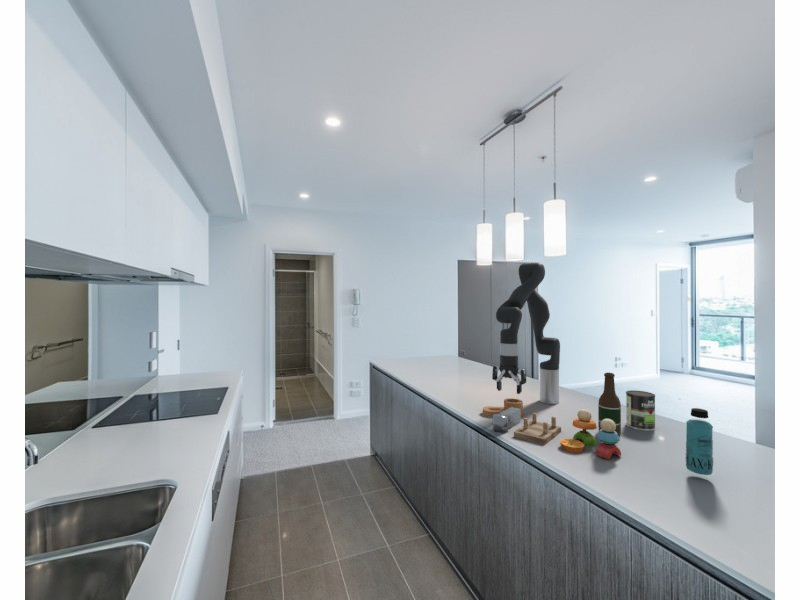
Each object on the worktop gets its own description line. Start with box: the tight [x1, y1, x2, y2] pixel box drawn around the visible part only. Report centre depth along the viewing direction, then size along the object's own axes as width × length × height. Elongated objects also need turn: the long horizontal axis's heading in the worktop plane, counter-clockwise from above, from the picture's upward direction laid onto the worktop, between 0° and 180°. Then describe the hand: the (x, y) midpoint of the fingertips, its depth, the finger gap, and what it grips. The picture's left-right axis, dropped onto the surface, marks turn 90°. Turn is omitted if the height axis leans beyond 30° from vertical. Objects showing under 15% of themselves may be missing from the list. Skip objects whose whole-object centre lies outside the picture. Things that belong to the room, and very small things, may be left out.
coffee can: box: [625, 389, 656, 432], centre depth 153 cm, size 10×10×14 cm
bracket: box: [482, 398, 524, 418], centre depth 169 cm, size 18×8×7 cm, turn 82°
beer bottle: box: [597, 372, 622, 437], centre depth 145 cm, size 8×8×24 cm
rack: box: [513, 412, 562, 446], centre depth 144 cm, size 18×12×6 cm, turn 138°
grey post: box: [492, 407, 522, 434], centre depth 153 cm, size 18×6×6 cm, turn 138°
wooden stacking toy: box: [559, 408, 622, 460], centre depth 129 cm, size 18×17×12 cm
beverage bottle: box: [684, 407, 714, 476], centre depth 110 cm, size 6×7×20 cm
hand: (508, 392), depth 154 cm, fingers open, 8 cm apart
